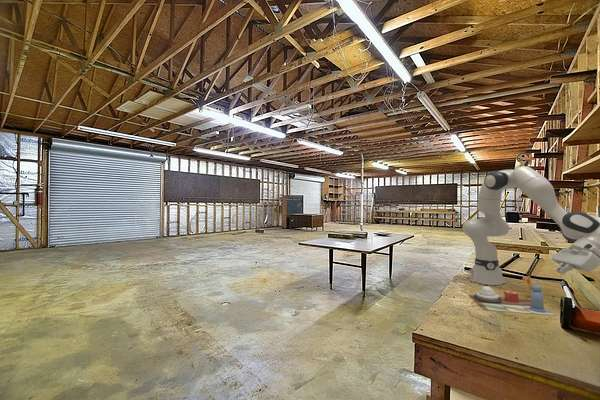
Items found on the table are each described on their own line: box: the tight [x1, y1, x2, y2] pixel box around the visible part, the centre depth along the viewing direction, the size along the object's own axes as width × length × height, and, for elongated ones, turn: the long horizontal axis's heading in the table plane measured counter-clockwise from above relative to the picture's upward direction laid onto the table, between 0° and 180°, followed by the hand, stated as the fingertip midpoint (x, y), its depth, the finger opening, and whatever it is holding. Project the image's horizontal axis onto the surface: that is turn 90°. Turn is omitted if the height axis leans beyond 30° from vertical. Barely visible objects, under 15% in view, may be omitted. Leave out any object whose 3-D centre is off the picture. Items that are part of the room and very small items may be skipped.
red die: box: [504, 290, 520, 303], centre depth 127 cm, size 4×4×4 cm
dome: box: [475, 285, 500, 300], centre depth 130 cm, size 9×9×5 cm
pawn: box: [530, 284, 547, 312], centre depth 115 cm, size 5×5×11 cm
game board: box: [467, 293, 557, 320], centre depth 123 cm, size 22×26×2 cm
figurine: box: [523, 275, 534, 299], centre depth 132 cm, size 8×6×12 cm
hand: (559, 272), depth 115 cm, fingers closed
